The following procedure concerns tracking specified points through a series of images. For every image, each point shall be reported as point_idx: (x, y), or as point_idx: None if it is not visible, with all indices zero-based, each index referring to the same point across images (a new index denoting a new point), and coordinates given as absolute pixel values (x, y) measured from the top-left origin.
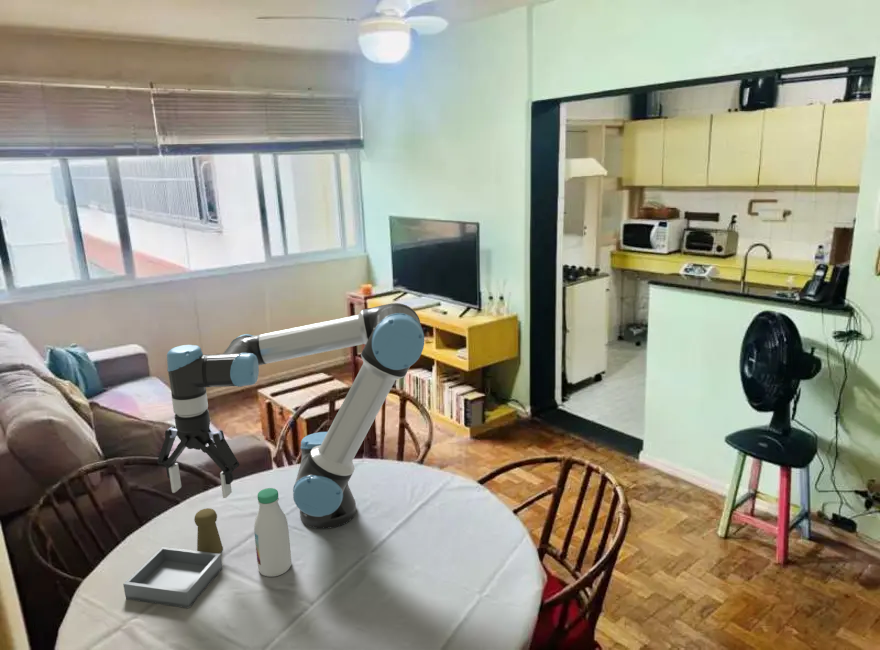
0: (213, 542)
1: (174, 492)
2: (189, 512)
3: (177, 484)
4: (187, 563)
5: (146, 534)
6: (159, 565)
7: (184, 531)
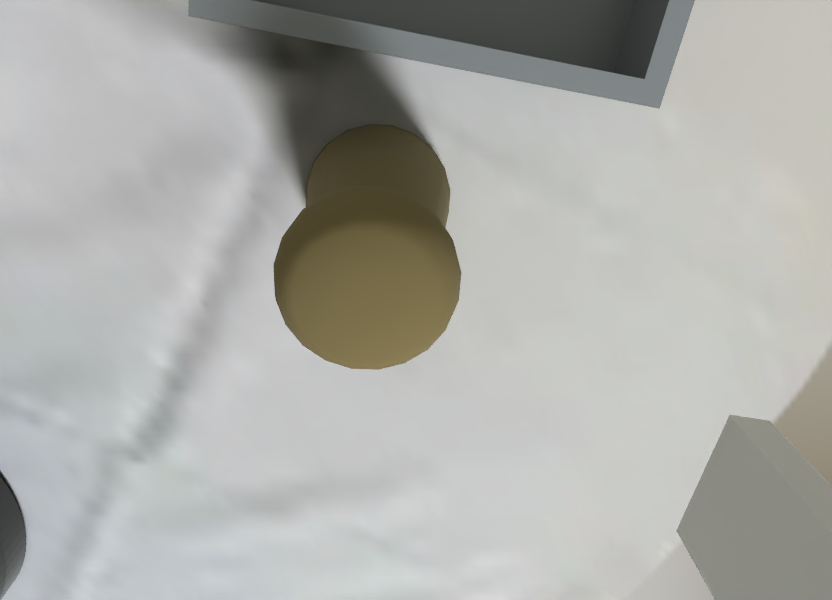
0: (321, 176)
1: (734, 417)
2: (616, 509)
3: (741, 534)
4: (455, 39)
5: (792, 338)
6: (630, 17)
7: (591, 365)
